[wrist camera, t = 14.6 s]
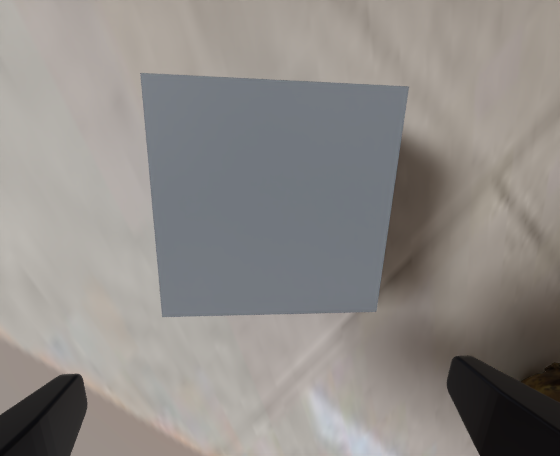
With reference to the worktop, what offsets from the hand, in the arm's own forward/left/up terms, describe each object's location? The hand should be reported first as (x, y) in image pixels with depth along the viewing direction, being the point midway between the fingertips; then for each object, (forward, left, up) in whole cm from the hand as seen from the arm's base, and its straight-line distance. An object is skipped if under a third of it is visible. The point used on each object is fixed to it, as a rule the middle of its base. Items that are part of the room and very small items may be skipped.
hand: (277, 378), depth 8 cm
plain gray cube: (+3, 0, -11) cm, 11 cm away
